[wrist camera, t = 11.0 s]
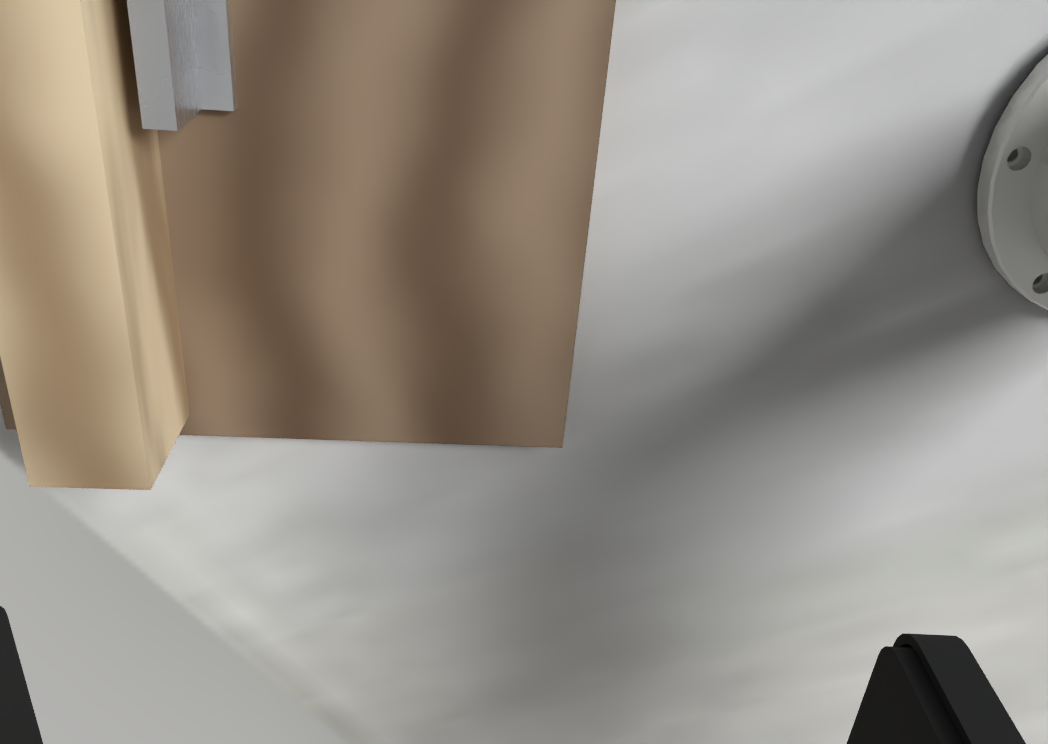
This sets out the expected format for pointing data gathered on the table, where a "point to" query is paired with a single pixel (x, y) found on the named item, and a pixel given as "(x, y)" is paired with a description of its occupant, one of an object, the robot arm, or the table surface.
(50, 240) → the rail
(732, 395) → the table surface
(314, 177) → the board
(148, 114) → the bracket
